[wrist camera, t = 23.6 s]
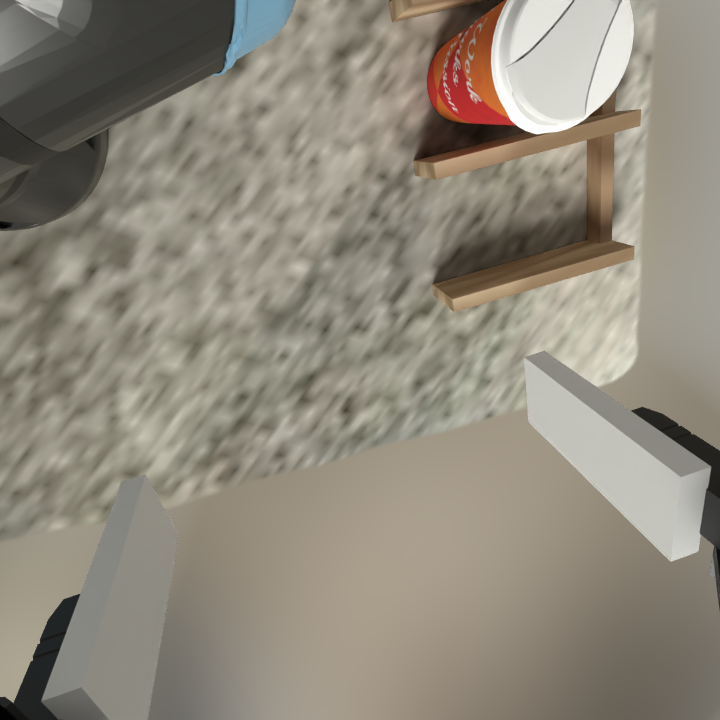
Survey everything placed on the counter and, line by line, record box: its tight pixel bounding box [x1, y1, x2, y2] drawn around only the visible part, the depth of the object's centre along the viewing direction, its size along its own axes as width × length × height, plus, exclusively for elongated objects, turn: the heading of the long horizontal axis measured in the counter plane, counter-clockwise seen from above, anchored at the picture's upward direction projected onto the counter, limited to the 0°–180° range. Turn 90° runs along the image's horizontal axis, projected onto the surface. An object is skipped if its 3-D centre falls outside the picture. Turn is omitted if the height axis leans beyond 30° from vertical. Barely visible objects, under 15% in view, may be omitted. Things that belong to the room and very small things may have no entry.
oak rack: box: [389, 0, 641, 312], centre depth 37 cm, size 35×18×5 cm, turn 12°
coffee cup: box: [427, 0, 634, 134], centre depth 32 cm, size 8×8×15 cm
